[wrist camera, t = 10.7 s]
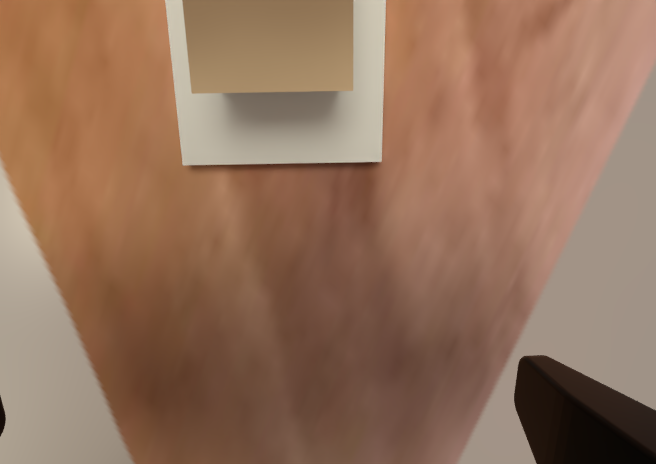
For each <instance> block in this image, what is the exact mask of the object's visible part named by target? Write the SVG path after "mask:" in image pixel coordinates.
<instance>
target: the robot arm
mask: <svg viewBox="0 0 656 464" xmlns="http://www.w3.org/2000/svg"><path fill="white" fill-rule="evenodd" d="M514 402H515V407H516V411H517V413H518V416H519V419H520V421H521V424H522V426H523V429H524V432H525V434H526V437H527V440H528V442H529V445H530V448H531V450H532V453H533V455H534V458H535V460H536V463H537V464H656V410H653V409H651V408H650V407H647V406H645V405H643V404H642V403H640V402H638V401H635V400H634V399H632V398H630V397H627V396H625V395H624V394H621V393H620V392H618V391H616V390H613V389H612V388H610V387H608V386H606V385H604V384H601V383H600V382H598V381H595V380H594V379H592V378H590V377H588V376H585V375H583V374H582V373H580V372H578V371H576V370H574V369H572V368H570V367H567V366H565V365H564V364H562V363H560V362H558V361H555V360H554V359H552V358H549V357H547V356H544V355H540V356H539V355H537V356H524V357H522V358H521V359H520V361H519V365H518V371H517V379H516V386H515V393H514ZM5 420H6V418H5V411H4V408H3V404H2V400H1V397H0V436H1V434H2V432H3V429H4V426H5Z"/></svg>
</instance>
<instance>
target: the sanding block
mask: <svg viewBox="0 0 656 464" xmlns="http://www.w3.org/2000/svg"><path fill="white" fill-rule="evenodd" d="M182 2H183V12H184V22H185V32H186V42H187V52H188V62H189V72H190V82H191V92H192V94H196V93H254V92H312V91H353V0H182Z"/></svg>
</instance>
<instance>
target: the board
mask: <svg viewBox="0 0 656 464" xmlns="http://www.w3.org/2000/svg"><path fill="white" fill-rule="evenodd" d="M165 3H166V12H167V21H168V31H169V40H170V50H171V59H172V69H173V78H174V87H175V97H176V106H177V116H178V125H179V134H180V144H181V153H182V163H183V165H231V164H287V163H343V162H382V127H383V89H384V51H385V14H386V0H353V91H312V92H254V93H196V94H192V92H191V82H190V72H189V62H188V52H187V42H186V32H185V22H184V12H183V2H182V0H165Z"/></svg>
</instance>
